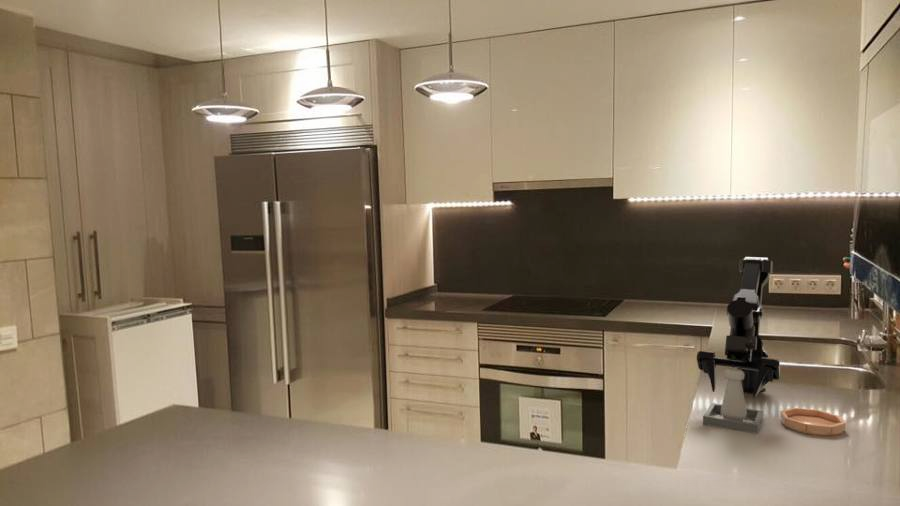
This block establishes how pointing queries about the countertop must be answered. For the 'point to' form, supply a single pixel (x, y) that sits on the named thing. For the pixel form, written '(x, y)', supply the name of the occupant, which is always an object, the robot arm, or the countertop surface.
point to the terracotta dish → (812, 421)
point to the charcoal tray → (733, 424)
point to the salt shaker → (734, 396)
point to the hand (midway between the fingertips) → (733, 393)
